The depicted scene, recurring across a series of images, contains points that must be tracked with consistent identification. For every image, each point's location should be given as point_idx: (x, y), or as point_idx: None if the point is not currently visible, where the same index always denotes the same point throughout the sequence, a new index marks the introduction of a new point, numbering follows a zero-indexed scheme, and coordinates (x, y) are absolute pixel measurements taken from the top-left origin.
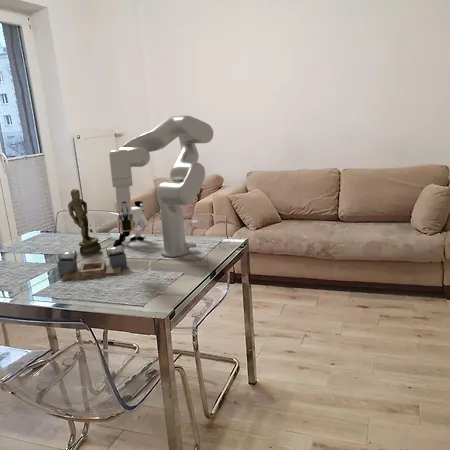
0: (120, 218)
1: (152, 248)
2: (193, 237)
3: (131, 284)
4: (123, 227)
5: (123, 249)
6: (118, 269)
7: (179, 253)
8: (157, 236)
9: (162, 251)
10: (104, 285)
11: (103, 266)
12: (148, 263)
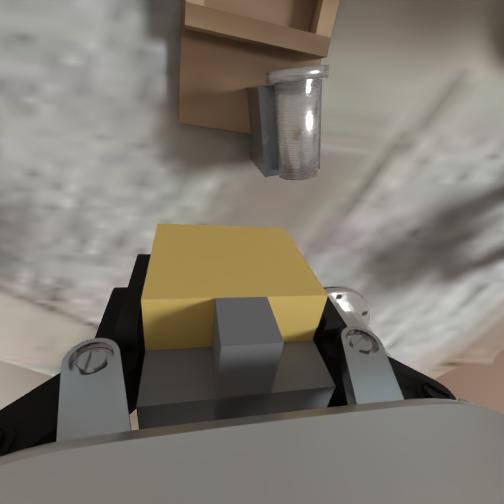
0: (215, 323)
1: (418, 266)
2: (423, 366)
3: (19, 155)
4: (133, 278)
5: (282, 175)
6: (219, 117)
7: None
8: None
9: (342, 295)
10: (26, 10)
11: (236, 31)
12: None
